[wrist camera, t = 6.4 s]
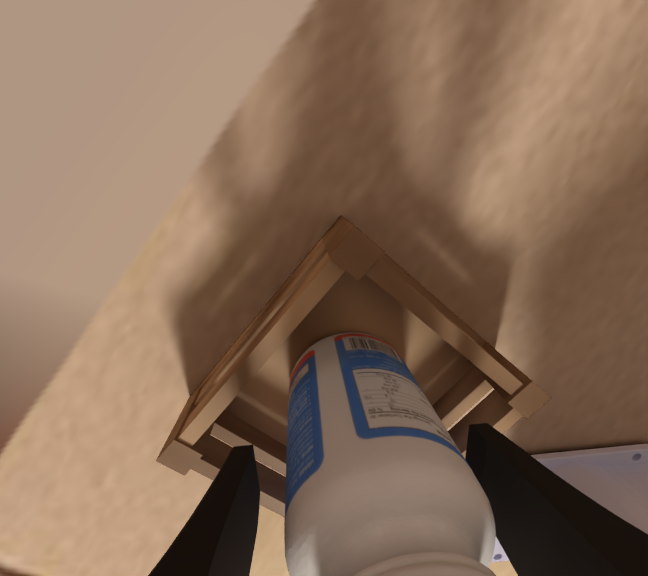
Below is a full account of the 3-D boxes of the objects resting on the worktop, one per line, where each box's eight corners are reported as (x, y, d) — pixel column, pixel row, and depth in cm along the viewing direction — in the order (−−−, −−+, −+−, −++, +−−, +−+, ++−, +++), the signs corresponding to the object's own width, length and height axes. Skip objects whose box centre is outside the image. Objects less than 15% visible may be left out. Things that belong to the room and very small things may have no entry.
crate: (340, 215, 13) (355, 226, 9) (495, 350, 15) (551, 397, 12) (189, 397, 15) (155, 460, 11) (346, 489, 17) (357, 563, 14)
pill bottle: (324, 445, 16) (360, 827, 6) (266, 364, 14) (200, 722, 5) (424, 396, 15) (621, 733, 6) (376, 306, 13) (547, 578, 4)
